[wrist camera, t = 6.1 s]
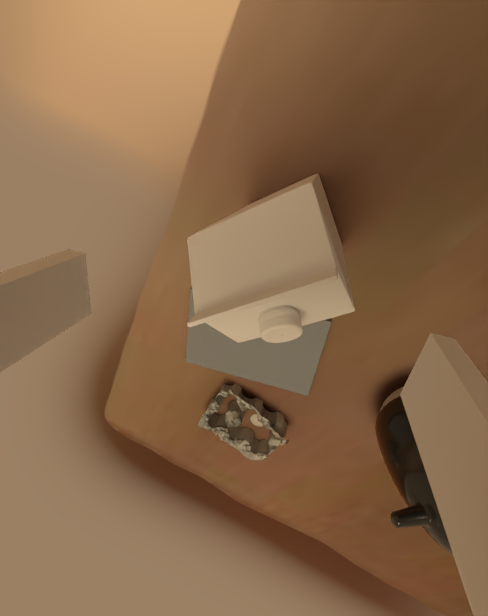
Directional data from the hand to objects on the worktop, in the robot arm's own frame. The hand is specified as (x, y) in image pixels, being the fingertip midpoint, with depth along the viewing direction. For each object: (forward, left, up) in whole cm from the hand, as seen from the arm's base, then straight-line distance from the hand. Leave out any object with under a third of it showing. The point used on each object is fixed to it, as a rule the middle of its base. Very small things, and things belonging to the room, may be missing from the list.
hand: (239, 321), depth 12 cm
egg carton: (+1, +26, -21) cm, 33 cm away
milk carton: (0, 0, -21) cm, 21 cm away
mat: (+2, +14, -21) cm, 25 cm away
